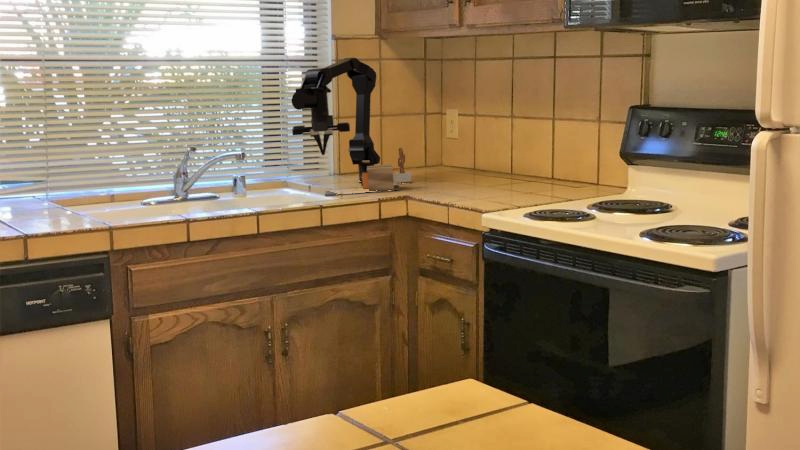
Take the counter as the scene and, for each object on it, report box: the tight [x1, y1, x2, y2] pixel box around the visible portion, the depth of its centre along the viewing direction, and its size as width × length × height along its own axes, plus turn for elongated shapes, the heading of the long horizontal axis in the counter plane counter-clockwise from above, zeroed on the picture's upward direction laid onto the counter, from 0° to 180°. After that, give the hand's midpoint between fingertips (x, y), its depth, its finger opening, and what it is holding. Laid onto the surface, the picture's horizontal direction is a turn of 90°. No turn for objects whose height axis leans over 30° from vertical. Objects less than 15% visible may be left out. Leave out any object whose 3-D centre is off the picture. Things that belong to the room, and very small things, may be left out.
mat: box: [324, 184, 401, 197], centre depth 295 cm, size 11×24×1 cm, turn 93°
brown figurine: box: [397, 147, 412, 185], centre depth 310 cm, size 9×4×12 cm, turn 15°
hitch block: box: [367, 163, 395, 191], centre depth 294 cm, size 10×8×7 cm
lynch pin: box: [361, 171, 412, 189], centre depth 294 cm, size 5×16×5 cm, turn 93°
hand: (323, 155), depth 300 cm, fingers closed
